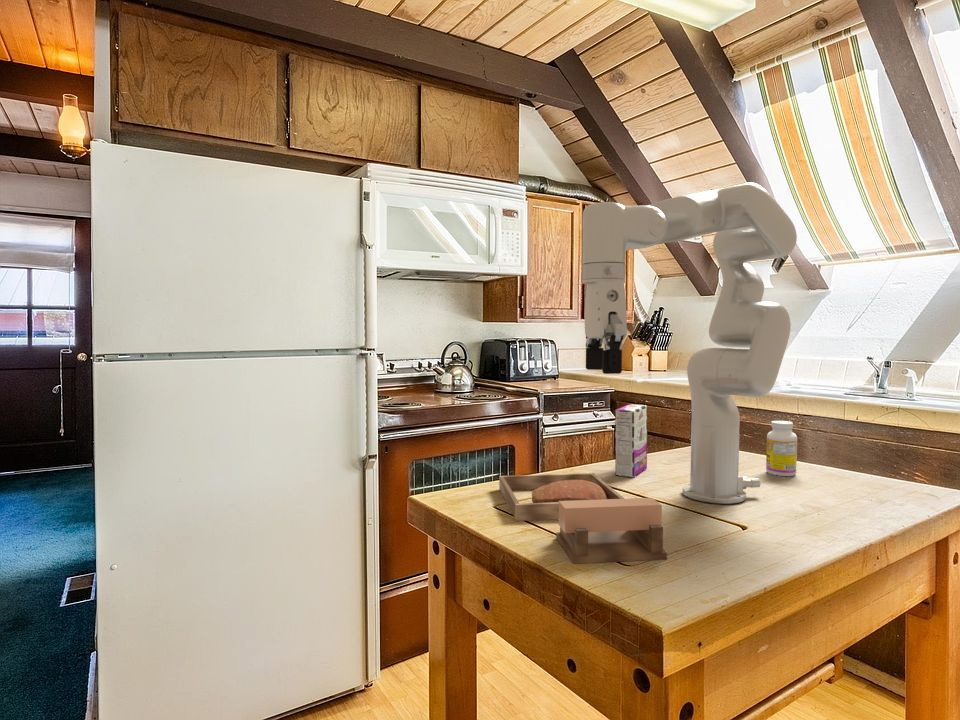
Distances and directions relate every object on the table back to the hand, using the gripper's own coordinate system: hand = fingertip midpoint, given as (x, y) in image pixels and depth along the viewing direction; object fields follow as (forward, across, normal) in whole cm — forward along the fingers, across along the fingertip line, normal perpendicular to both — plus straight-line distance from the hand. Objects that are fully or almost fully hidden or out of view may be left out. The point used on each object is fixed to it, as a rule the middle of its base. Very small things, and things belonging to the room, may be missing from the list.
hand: (602, 371), depth 105 cm
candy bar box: (+28, +38, -20) cm, 52 cm away
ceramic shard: (+29, +14, +2) cm, 32 cm away
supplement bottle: (+28, +32, -56) cm, 71 cm away
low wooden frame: (+28, +16, +4) cm, 33 cm away
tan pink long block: (+25, -10, +2) cm, 27 cm away
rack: (+28, -10, +2) cm, 30 cm away
